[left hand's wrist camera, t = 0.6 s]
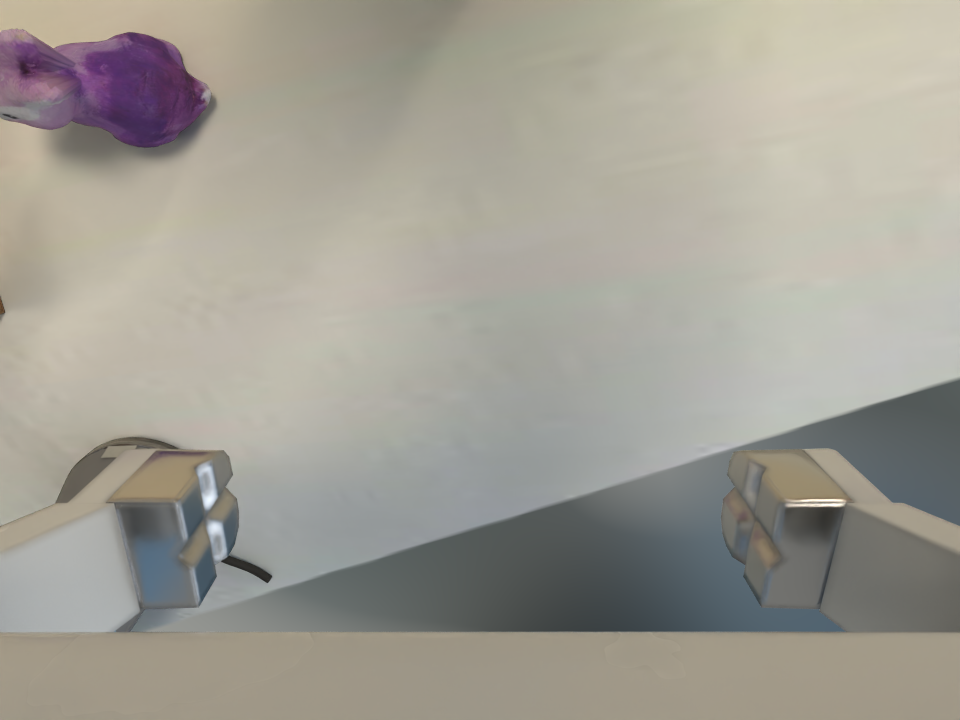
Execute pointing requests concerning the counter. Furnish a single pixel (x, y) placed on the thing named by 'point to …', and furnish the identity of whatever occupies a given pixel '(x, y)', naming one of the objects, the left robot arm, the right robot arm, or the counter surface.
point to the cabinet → (1, 307)
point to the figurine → (100, 86)
